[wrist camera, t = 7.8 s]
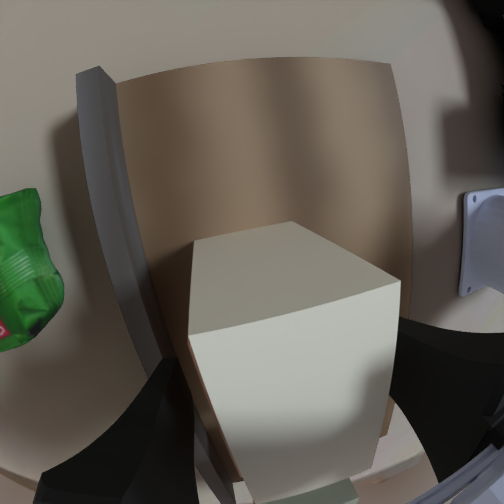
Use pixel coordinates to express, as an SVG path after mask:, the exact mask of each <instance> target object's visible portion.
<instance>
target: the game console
mask: <svg viewBox="0 0 504 504" xmlns="http://www.w3.org/2000/svg"><path fill="white" fill-rule="evenodd" d="M473 1H474V3H475V6H476V8H477V11H478V13H479V16H480V18H481V21H482V24H483V26H484V27H486V28H487V29H489V30H490V31H492V32H493V33H494V34H496V35H497V36H499V37H500V38H501V39H503V40H504V0H473ZM501 85H502V90H503V93H502V97H503V102H504V84H501Z"/></svg>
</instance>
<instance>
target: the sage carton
mask: <svg viewBox="0 0 504 504" xmlns="http://www.w3.org/2000/svg"><path fill="white" fill-rule="evenodd" d="M358 499H359V496H358V494H357V492H356V490H355V488H354V486H353V485H352V483H351V481H350V479H349V478H346V479H343V480H341V481H338V482H335V483H333V484H330V485H327V486H324V487H321V488H318V489H315V490H312V491H308V492H305V493H302V494H298V495H294V496H291V497H287V498H283V499H279V500H275V501H270V502H266V503H261V504H357V502H358ZM253 502H254V500H253ZM254 504H255V502H254Z"/></svg>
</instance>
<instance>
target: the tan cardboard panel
mask: <svg viewBox="0 0 504 504" xmlns="http://www.w3.org/2000/svg"><path fill="white" fill-rule="evenodd" d="M76 92H77V108H78V120H79V130H80V139H81V147H82V154H83V161H84V167H85V174H86V179H87V185H88V190H89V196H90V201H91V205H92V210H93V215H94V219H95V223H96V228H97V232H98V236H99V240H100V244H101V247H102V251H103V255H104V258H105V262H106V265H107V269H108V272H109V275H110V279H111V282H112V285H113V288H114V291H115V294H116V297H117V300H118V303H119V306H120V309H121V312H122V315H123V317H124V320H125V323H126V325H127V328H128V331H129V333H130V336H131V338H132V341H133V343H134V346H135V348H136V351H137V353H138V356H139V358H140V360H141V363H142V365H143V367H144V370H145V372H146V374H147V376H148V378H150V376H151V375H152V373H153V371H154V370H155V368H156V367H157V365H158V364H159V362H160V361H161V360H162V359H164V358H170V357H176V356H177V357H178V359H179V362H180V365H181V368H182V370H183V373H184V376H185V378H186V381H187V383H188V386H189V388H190V391H191V393H192V398H193V407H194V416H195V425H194V464H195V466H196V467H197V469H198V471H199V472H200V474H201V475H202V477H203V478H204V480H205V481H206V483H207V484H208V486H209V487H210V489H211V490H212V492H213V493H214V494H215V496H216V497H217V499H218V500H219V501H220V503H221V504H236V500H235V495H234V490H233V484H232V483H234V482H240V481H244V479H243V477H241V478H240V475H239V473H238V471H237V469H236V467H235V465H234V462H233V460H232V458H231V456H230V454H229V451H228V449H227V447H226V444H225V442H224V440H223V437H222V435H221V433H220V430H219V428H218V425H217V423H216V421H215V418H214V416H213V413H212V411H211V408H210V405H209V403H208V400H207V398H206V395H205V392H204V390H203V387H202V384H201V382H200V379H199V376H198V373H197V370H196V368H195V365H194V362H193V359H192V356H191V353H190V350H189V347H188V323H189V304H190V287H191V273H192V261H193V248H194V241H195V240H200V239H205V238H209V237H214V236H219V235H224V234H229V233H234V232H239V231H244V230H249V229H254V228H259V227H264V226H269V225H274V224H279V223H284V222H290V221H293V222H295V223H297V224H298V225H300V226H302V227H304V228H306V229H308V230H310V231H312V232H314V233H316V234H318V235H319V236H321V237H323V238H325V239H327V240H329V241H331V242H332V243H334V244H336V245H338V246H340V247H342V248H344V249H345V250H347V251H349V252H351V253H353V254H354V255H356V256H358V257H360V258H362V259H363V260H365V261H367V262H369V263H371V264H372V265H374V266H376V267H378V268H379V269H381V270H383V271H385V272H386V273H388V274H390V275H392V276H393V277H395V278H397V279H399V280H400V281H401V287H400V306H399V316H400V317H403V318H406V319H409V309H410V297H411V281H412V247H413V237H412V203H411V187H410V175H409V165H408V156H407V148H406V140H405V133H404V127H403V121H402V115H401V109H400V104H399V99H398V94H397V90H396V85H395V81H394V76H393V72H392V68H391V64H387V63H380V62H372V61H363V60H353V59H340V58H320V57H277V58H257V59H243V60H233V61H224V62H216V63H208V64H202V65H195V66H189V67H184V68H178V69H173V70H168V71H164V72H159V73H155V74H150V75H146V76H142V77H138V78H135V79H131V80H127V81H124V82H120V83H117V84H116V83H115V82H114V81H113V80H112V79H111V78H110V77H109V76H108V75H107V74H106V73H105V71H104V70H103V69H102V68H101V67H100V66H97V67H94V68H91V69H89V70H86V71H83V72H80V73H78V74H76ZM394 404H395V401H394V400H393V399H392V398H391V397H390V395H388V401H387V406H386V411H385V415H384V420H383V424H382V429H381V433H380V437H379V438H381V437H383V436H385V435H387V432H388V429H389V425H390V421H391V417H392V413H393V409H394Z"/></svg>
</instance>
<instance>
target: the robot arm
mask: <svg viewBox="0 0 504 504" xmlns="http://www.w3.org/2000/svg"><path fill="white" fill-rule="evenodd" d="M486 285H487V286H489V287H491V288H493V289H495V290H497V291H499V292H501V293H503V294H504V187H501V188H493V189H486V190H478V191H471V192H466V193H465V195H464V231H463V252H462V265H461V276H460V284H459V295H460V296H461V297H465V296H467V295H469V294H471V293H473V292H475V291H477V290H479V289H481V288H483V287H485V286H486ZM389 395H390V397H391V398H392V399H393V400H394V401H395V403H396V404H397V405H398V406H399V408H400V409H401V410H402V412H403V413H404V415H405V416H406V418H407V420H408V421H409V423H410V424H411V426H412V428H413V429H414V431H415V433H416V435H417V437H418V438H419V440H420V442H421V444H422V446H423V448H424V450H425V452H426V454H427V456H428V458H429V460H430V462H431V465H432V467H433V470H434V472H435V475H436V477H437V480H438V482H439V484H438V485H436V486H435V487H433V488H432V489H430V490H428V491H427V492H425V493H424V494H422V495H420V496H418V497H417V498H415V499H414V500H412V501H410V502H408V503H406V504H444V503H445V502H446V501H448V500H449V499H451V498H452V497H454V496H455V495H456V494H458V493H459V492H460V491H462V490H463V489H464V488H465V489H464V490H463V491H462V492H461V493H460V494H458V495H457V496H456V497H455V498H454V499H453V500H452V502H451V503H450V504H504V333H471V332H461V331H454V330H448V329H443V328H438V327H434V326H430V325H426V324H423V323H419V322H416V321H412V320H409V319H406V318H403V317H400V316H399V320H398V331H397V341H396V349H395V357H394V365H393V372H392V378H391V384H390V390H389ZM194 425H195V416H194V407H193V398H192V393H191V391H190V388H189V386H188V383H187V381H186V378H185V376H184V373H183V370H182V368H181V365H180V362H179V359H178V357H177V356H176V357H170V358H164V359H162V360H161V361H160V362H159V364H158V365H157V367H156V368H155V370H154V371H153V373H152V375H151V376H150V378H149V379H148V381H147V382H146V384H145V385H144V387H143V388H142V389H141V391H140V392H139V394H138V395H137V397H136V398H135V399H134V400H133V402H132V403H131V404H130V406H129V407H128V408H127V409H126V411H125V412H124V413H123V414H122V415H121V416H120V417H119V419H118V420H117V421H116V422H115V423H114V424H113V425H112V426H111V427H110V428H109V429H108V430H107V431H106V432H104V433H103V434H102V435H101V436H100V437H99V438H97V439H96V440H95V441H94V442H93V443H91V444H90V445H89V446H88V447H86V448H85V449H83V450H82V451H81V452H79V453H78V454H76V455H75V456H73V457H72V458H70V459H68V460H67V461H65V462H63V463H61V464H59V465H57V466H55V467H53V468H52V469H50V470H48V471H45V472H43V473H42V474H41V477H40V480H39V483H38V487H37V490H36V493H35V497H34V500H33V504H199V499H198V493H197V486H196V479H195V470H194ZM468 485H469V486H468ZM467 486H468V487H467ZM466 487H467V488H466Z"/></svg>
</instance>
